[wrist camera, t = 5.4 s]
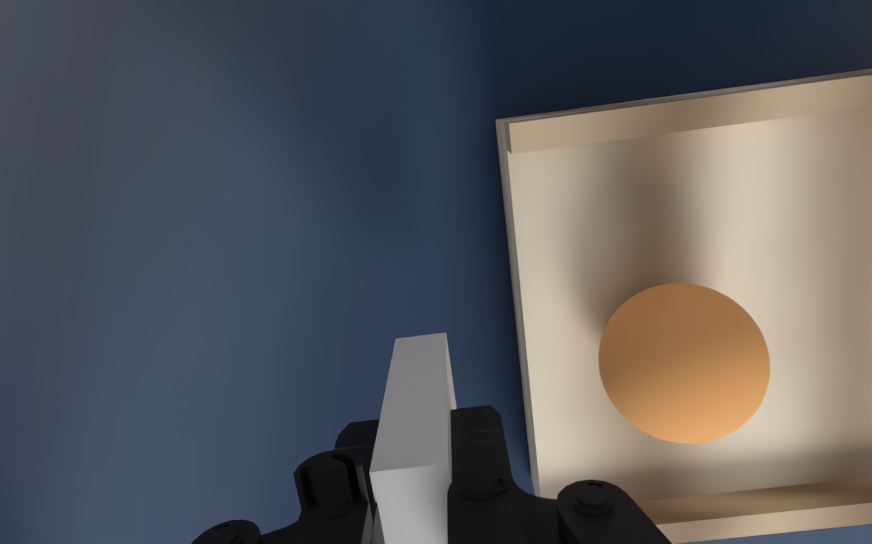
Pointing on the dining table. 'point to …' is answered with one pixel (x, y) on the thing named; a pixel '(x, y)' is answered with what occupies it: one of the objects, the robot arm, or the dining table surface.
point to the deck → (710, 267)
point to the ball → (684, 363)
